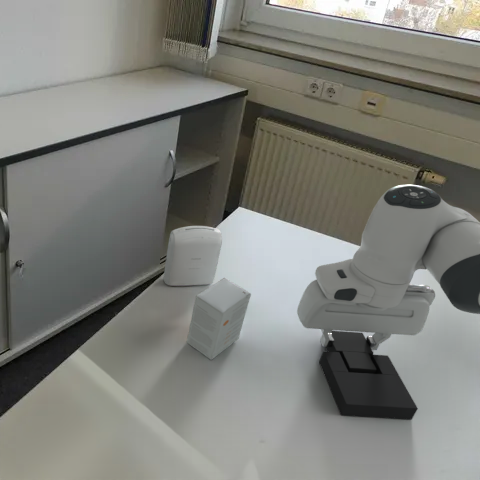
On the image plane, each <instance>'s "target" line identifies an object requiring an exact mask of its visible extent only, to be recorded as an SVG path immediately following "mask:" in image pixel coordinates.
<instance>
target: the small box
mask: <svg viewBox="0 0 480 480" xmlns="http://www.w3.org/2000/svg"><path fill="white" fill-rule="evenodd" d="M251 296H252V293H251V292H249V291H248V290H246V289H244V288H243V287H241V286H239V285H238V284H236V283H234V282H233V281H231V280H230V279H228V278H226V277H223V278H221V279H219V280H218V281H217V282H214V283H213V284H211V285H210V286H209V287H207V288H206V289H204V290H203V291H201V292H200V293H198V294H197V295H196V296H195V299H194V304H193V309H192V313H191V319H190V324H189V329H188V334H187V338H186V343H187V344H188V345H190V346H191V347H193V348H194V349H195V350H197V351H198V352H199V353H201V354H202V355H203V356H205V357H206V358H207V359H209V360H211V361H212V360H214V359H215V358H216V357H218V356H219V355H220V354H221V353H222V352H223V351H225V350H226V349H227V348H229V347H230V346H231V345H232V344H234V343H235V342H237V341H238V340H239V339H240V335H241V332H242V327H243V324H244V322H245V318H246V313H247V311H248V310H247V309H248V306H249V303H250V299H251Z"/></svg>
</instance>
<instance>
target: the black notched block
mask: <svg viewBox="0 0 480 480" xmlns="http://www.w3.org/2000/svg"><path fill="white" fill-rule="evenodd" d="M371 360H372V362H373V364H374V366H375V368H376V369H377V370H376V372H375V374H368V373H352V372H348V370H347V368H346V366H345V364H344V361H343V359H342V357H341V355H340V353H339V352H327V350H326V351H323V352H322V353H321V356H320V359H319V361H318V363H319V366H320V368H321V371H322V373H323V375H324V377H325V380H326V383H327V385H328V387H329V390H330V392H331V395H332V397H333V399H334V402H335V405H336V406H337V407H336V408H337V409H338V411H339V414H340V416H344V417H345V416H346V417H359V418H376V419H393V420H407V421H408V420H413V418H414V417H415V414H416V413H417V411H418V406H417V404H416V403H415V400H414V399H413V397H412V396H411V394H410V392H409V390H408V388H407V387H406V385H405V383H404V381H403V379H402V377H401V376H400V374H399V372H398V371H397V369H396V367H395V366H394V363H393V362H392V360H391V358H390V357H389V355H386V354H373V355H372V356H371Z"/></svg>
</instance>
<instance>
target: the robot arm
mask: <svg viewBox="0 0 480 480" xmlns="http://www.w3.org/2000/svg"><path fill="white" fill-rule="evenodd" d="M418 270H427V271H428V272H429V274H430V275H431V276H432V277H433V279H434V280H435V281H436V282H437V283H438V284H439V286H440V288H441V290H442V291H443V293H444V295H445V296H446V298H447V299H448V300H449V302H450V304H451V305H452V306H453V307H454V308H456V309H457V310H458V311H462V312H465V313H468V314H469V313H470V314H475V315H480V221H479V220H478V219H477V218H476V217H474V216H473V215H472V214H471V213H470V212H469V211H467V210H465V209H463V208H462V207H459V206H455V205H451V204H449V203H447V202H446V201H445V200H443V198H442V197H441V195H440V194H439V193H438V192H436V191H434V190H433V189H431V188H428V187H426V186H422V185H416V184H400V185H396V186H392V187H391V188H388V189H387V190H386V191H385V192H384V193H383V194H382V195H381V196H380V197H379V198H378V200H377V202H376V203H375V205H374V207H373V209H372V210H371V212H370V215H369V217H368V219H367V220H366V224H365V226H364V229H363V231H362V234H361V243H360V246H359V247H358V249H357V250H356V251H355V253H353V256H352V258H349V259H345V260H342V261H337V262H334V263H327V264H326V263H325V264H322V265H321V264H320V265H319V266H317V267H316V269H315V272H314V275H315V279H314V280H312V281H311V282H310V283H309V284H307V286H306V288H305V290H304V292H303V294H302V296H301V298H300V301H299V303H298V306H297V310H296V313H297V314H296V315H297V316H298V320H299V322H300V323H301V325H302V326H303V328H305V329H311V330H313V329H315V330H320V331H321V336H320V344H321V346H322V347H324V348H325V347H332V344H333V343H334V339H333V337H332V334H331V332H332V331H345V332H359V333H371V334H372V335H367V336H366V337H365V338H366V340H367V342H368V344H369V346H370V348H371V349H372V351H377V350H378V348H379V347H380V345H381V344H383V343H384V342H386V341H387V340H389V339H390V338H391V336H392V335H401V336H416V335H418V334H420V333H421V332H422V331H423V329H424V327H425V325H426V321H427V319H428V315H429V313H430V306H432V304H433V302H434V300H435V298H436V292H435V290H434V289H433V288H431V287H430V286H429V285H427V284H419V285H418V284H413V283H411V281H412V280H413V278H414V274H415V273H416V271H418Z"/></svg>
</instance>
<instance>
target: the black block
mask: <svg viewBox="0 0 480 480" xmlns="http://www.w3.org/2000/svg"><path fill="white" fill-rule="evenodd" d="M331 334H332V337H333V339H334V343H333V344H332V347H324V348H325V349H326V351H327V352H339V353H340V355H341V357H342V359H343V361H344V364H345V366H346V368H347V370H348V372H352V373H368V374H375V372H376V370H377V369H376V368H375V366H374V364H373V362H372V360H371V356H372V355H374V350H372V349H371V348H370V346H369V344H368V342H367V340H366V338H367V337H365V335H364V332H356V331H341V330H332V332H331Z"/></svg>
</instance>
